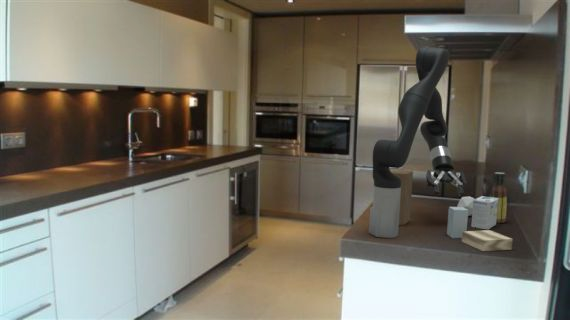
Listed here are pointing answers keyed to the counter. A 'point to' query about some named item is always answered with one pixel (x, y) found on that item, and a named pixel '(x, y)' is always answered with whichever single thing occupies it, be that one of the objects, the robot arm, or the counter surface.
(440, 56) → the robot arm
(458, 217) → the grey rectangular block
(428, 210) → the counter surface
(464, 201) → the die
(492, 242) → the beech block
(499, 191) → the sauce bottle
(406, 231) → the counter surface
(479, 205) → the light bulb box
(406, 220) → the wooden block
